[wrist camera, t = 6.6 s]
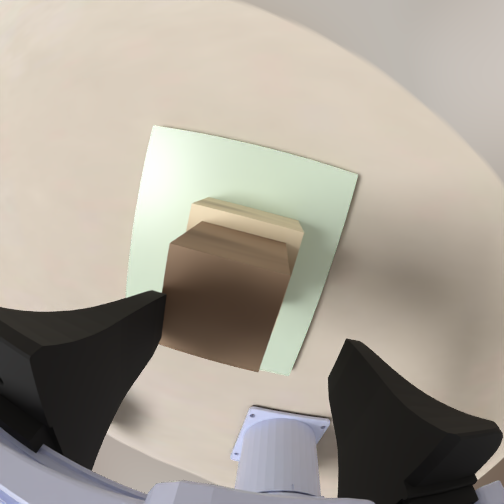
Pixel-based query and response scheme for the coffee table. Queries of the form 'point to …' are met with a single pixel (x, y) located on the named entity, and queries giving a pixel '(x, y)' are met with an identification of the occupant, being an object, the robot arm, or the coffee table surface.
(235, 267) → the walnut brick
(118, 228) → the coffee table surface
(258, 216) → the maple base brick
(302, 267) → the plate
